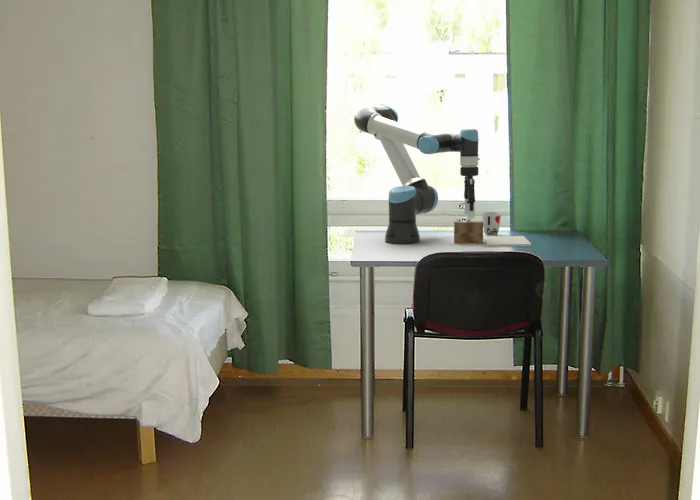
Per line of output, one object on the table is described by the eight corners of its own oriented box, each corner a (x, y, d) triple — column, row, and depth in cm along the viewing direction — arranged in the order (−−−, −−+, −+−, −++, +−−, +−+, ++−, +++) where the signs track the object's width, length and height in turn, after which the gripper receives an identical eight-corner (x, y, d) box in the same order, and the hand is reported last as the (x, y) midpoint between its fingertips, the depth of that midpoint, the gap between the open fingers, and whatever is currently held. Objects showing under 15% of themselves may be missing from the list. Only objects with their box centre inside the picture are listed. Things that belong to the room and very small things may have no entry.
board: (454, 243, 364) (454, 222, 362) (454, 242, 367) (454, 221, 365) (482, 243, 364) (483, 222, 362) (482, 242, 367) (482, 221, 365)
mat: (487, 246, 355) (487, 244, 355) (482, 238, 375) (482, 236, 375) (531, 246, 355) (531, 243, 354) (523, 238, 374) (523, 235, 374)
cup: (484, 237, 378) (485, 214, 376) (479, 234, 386) (480, 212, 384) (502, 236, 379) (503, 214, 377) (497, 233, 387) (497, 211, 385)
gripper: (481, 168, 347) (481, 220, 351) (475, 163, 371) (475, 212, 375) (463, 168, 347) (463, 220, 351) (457, 164, 372) (457, 212, 375)
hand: (469, 216), depth 363 cm, fingers open, 13 cm apart
